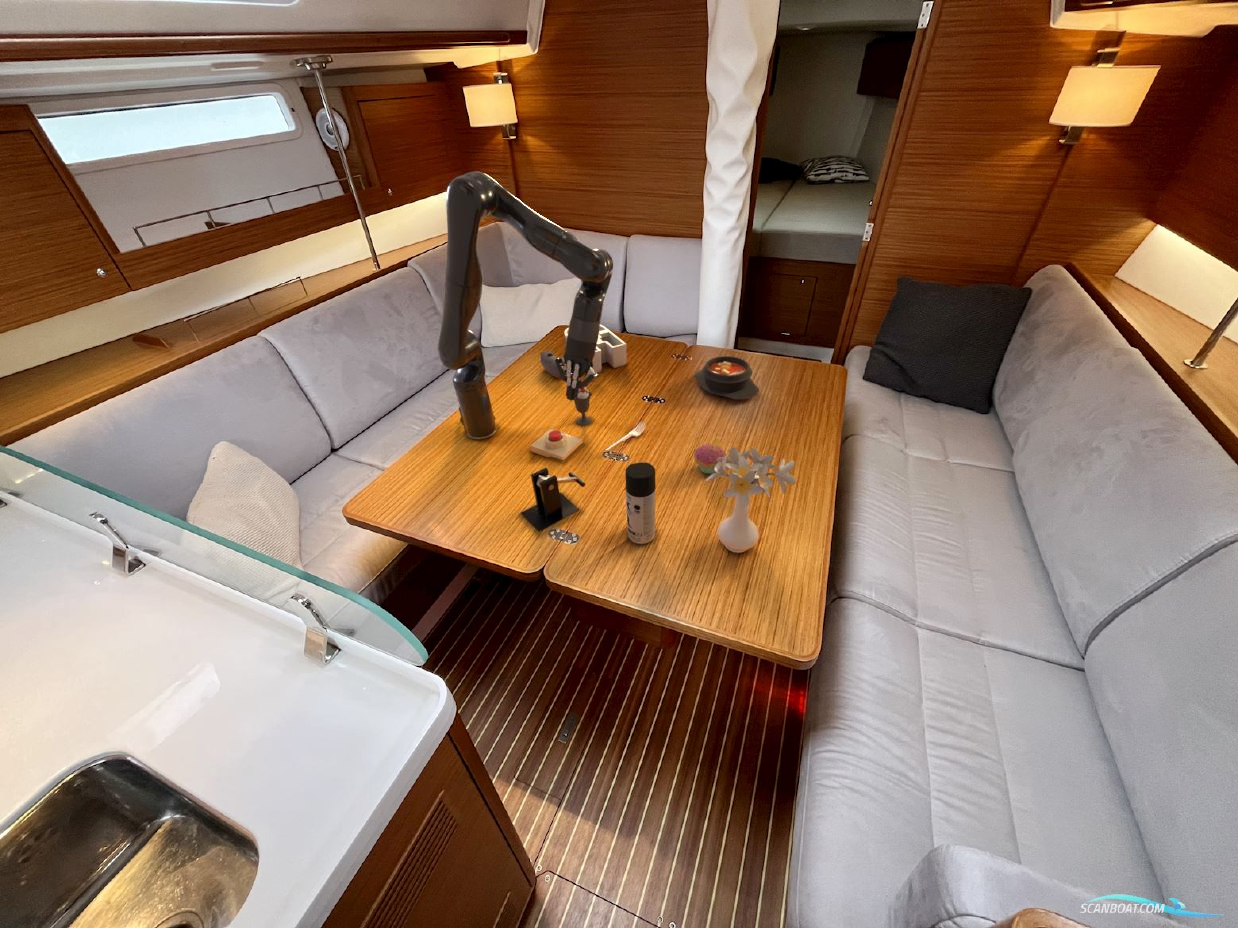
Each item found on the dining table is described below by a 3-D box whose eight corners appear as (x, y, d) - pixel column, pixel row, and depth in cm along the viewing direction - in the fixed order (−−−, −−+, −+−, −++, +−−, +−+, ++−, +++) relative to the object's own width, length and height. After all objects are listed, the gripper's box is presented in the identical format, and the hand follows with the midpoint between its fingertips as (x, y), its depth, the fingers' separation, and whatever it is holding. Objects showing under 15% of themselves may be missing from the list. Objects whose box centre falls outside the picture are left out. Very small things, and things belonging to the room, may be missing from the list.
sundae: (591, 428, 158) (587, 386, 149) (571, 426, 159) (566, 385, 150) (596, 416, 163) (593, 375, 154) (577, 415, 164) (572, 374, 155)
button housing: (531, 451, 149) (529, 440, 147) (551, 434, 156) (549, 424, 153) (563, 463, 144) (561, 451, 142) (582, 445, 151) (581, 434, 148)
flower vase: (788, 550, 114) (808, 465, 98) (715, 572, 110) (724, 486, 95) (758, 513, 124) (773, 430, 108) (690, 532, 120) (695, 449, 104)
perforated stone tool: (568, 380, 184) (566, 363, 179) (555, 384, 182) (552, 367, 178) (553, 364, 194) (551, 348, 190) (540, 368, 192) (538, 351, 188)
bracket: (560, 495, 133) (554, 457, 125) (579, 512, 127) (574, 474, 119) (521, 516, 127) (512, 477, 119) (539, 535, 122) (531, 496, 114)
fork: (595, 455, 146) (595, 450, 145) (640, 425, 157) (640, 420, 156) (603, 459, 144) (603, 454, 143) (648, 429, 156) (648, 424, 154)
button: (547, 440, 147) (546, 435, 146) (554, 433, 150) (553, 429, 149) (556, 443, 146) (556, 438, 145) (564, 437, 148) (563, 432, 147)
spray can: (626, 526, 123) (623, 462, 110) (653, 523, 123) (653, 459, 111) (629, 546, 117) (625, 481, 105) (657, 543, 118) (657, 478, 105)
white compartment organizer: (588, 375, 186) (586, 354, 180) (561, 348, 206) (558, 328, 200) (627, 365, 191) (626, 344, 186) (597, 339, 211) (595, 319, 206)
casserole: (771, 393, 169) (774, 371, 164) (730, 411, 162) (732, 388, 157) (721, 366, 186) (723, 346, 181) (682, 381, 179) (682, 360, 174)
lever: (570, 477, 130) (573, 469, 129) (584, 489, 126) (586, 480, 125) (532, 480, 122) (534, 471, 121) (545, 492, 118) (547, 483, 117)
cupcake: (726, 462, 141) (730, 427, 133) (721, 480, 134) (724, 445, 127) (696, 457, 143) (698, 422, 136) (690, 475, 137) (691, 440, 129)
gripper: (552, 328, 122) (542, 392, 130) (595, 347, 117) (582, 412, 125) (570, 325, 127) (560, 386, 136) (612, 342, 123) (599, 405, 131)
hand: (571, 399), depth 131 cm, fingers closed
